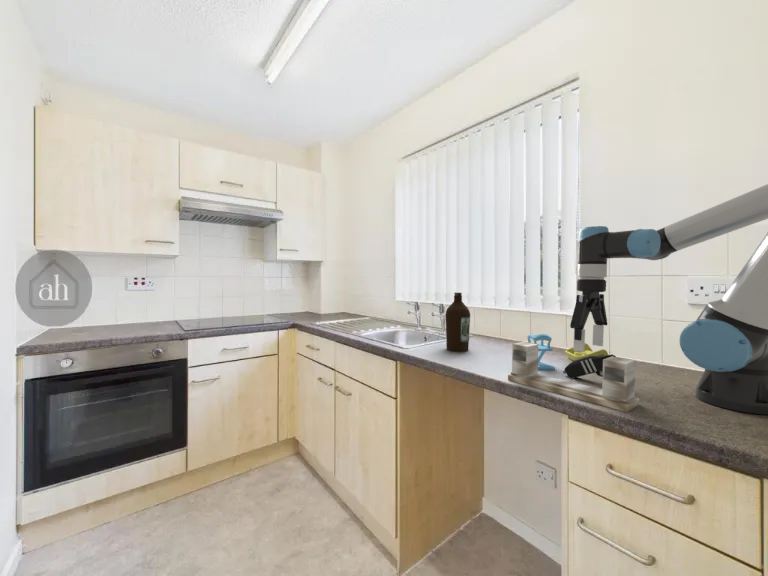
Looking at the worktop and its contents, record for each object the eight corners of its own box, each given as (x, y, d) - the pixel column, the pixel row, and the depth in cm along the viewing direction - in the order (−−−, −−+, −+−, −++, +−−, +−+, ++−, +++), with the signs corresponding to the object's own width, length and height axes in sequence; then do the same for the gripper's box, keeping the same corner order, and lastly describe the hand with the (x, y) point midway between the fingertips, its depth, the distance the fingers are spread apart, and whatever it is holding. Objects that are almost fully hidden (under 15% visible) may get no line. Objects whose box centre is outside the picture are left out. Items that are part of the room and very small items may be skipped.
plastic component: (563, 350, 135) (588, 341, 132) (572, 368, 133) (597, 358, 131) (578, 358, 115) (608, 347, 113) (589, 378, 114) (619, 367, 112)
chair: (543, 363, 123) (543, 331, 122) (555, 369, 114) (556, 334, 114) (522, 363, 123) (523, 331, 122) (533, 369, 114) (533, 334, 114)
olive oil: (440, 349, 146) (440, 292, 146) (453, 346, 154) (454, 291, 153) (461, 353, 139) (462, 293, 138) (474, 349, 147) (475, 292, 146)
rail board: (639, 404, 83) (640, 360, 82) (627, 412, 78) (628, 365, 78) (522, 375, 107) (522, 341, 107) (507, 379, 103) (508, 343, 102)
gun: (576, 394, 106) (562, 363, 110) (630, 382, 94) (612, 348, 98) (572, 396, 104) (557, 365, 108) (627, 384, 93) (609, 350, 96)
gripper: (594, 278, 111) (592, 341, 112) (559, 278, 96) (556, 351, 97) (621, 278, 105) (618, 345, 106) (587, 278, 90) (584, 356, 91)
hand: (588, 348), depth 102 cm, fingers open, 13 cm apart
